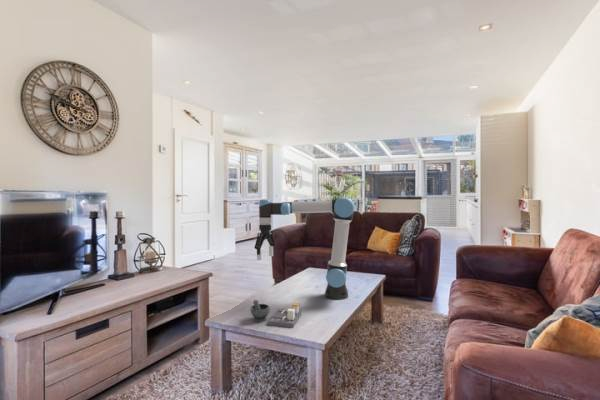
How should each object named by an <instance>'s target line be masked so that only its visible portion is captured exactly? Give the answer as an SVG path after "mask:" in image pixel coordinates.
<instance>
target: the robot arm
mask: <svg viewBox="0 0 600 400" xmlns="http://www.w3.org/2000/svg"><path fill="white" fill-rule="evenodd" d="M354 212H355V203H354V201H353V200H352V199H351V198H350V197H346V196H342V197H338V198H331V200H315V201H284V202H272V199H260V200H259V203H258V216H259V217H258V219H259V220H258V221H259V222H258V223H259V225H258V229H259V231H260V232H257V236H256V239H255V240H256V241H255V243H254V247H253V248H254V249H255V250H256V260H257V261H262V246H263V244H264V241H266V240H267V243H268V245H269V246H268V257H274V247H276V246H275V245H276V241H275V237H274V233H273V230H272V215H275V216H277V215H278V216H286V215H290V214H313V213H314V214H315V213H316V214H317V213H318V214H319V213H323V214H324V213H330V214H332V215H333V218H332V219H333V220H334V221H335V223H334V231H333V240H332V241H333V242H332V248H331V258H330V260H328V261H327V269H326V275H325V279H326V288H325V291H324V297H326V298H327V299H331V300H344V299H347V298H348V297H349V291H348V287H347V283H346V281H347V272H348V271H347V269H348V264H347V262H346V257H347V250H348V249H347V248H348V247H347V246H348V239H349V232H350V223H351V222H352V221H353V219H354V218H353V217H354Z"/></svg>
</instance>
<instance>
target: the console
mask: <svg viewBox="0 0 600 400" xmlns="http://www.w3.org/2000/svg"><path fill="white" fill-rule="evenodd" d="M287 310H288V309H285V308H277V310H276V312H275V313H274V314H273V315H272V316H271V317H270V318H269V320H268V326H275V327H284V328H294V327H295V326H296V325H297V322H298V321H299V320H300V318H301V316H302V310H299V312H298V314H295V318H294V320H288V312H287Z"/></svg>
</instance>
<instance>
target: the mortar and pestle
mask: <svg viewBox="0 0 600 400" xmlns="http://www.w3.org/2000/svg"><path fill="white" fill-rule="evenodd" d="M259 301H260V300H259V299H254V300H253V301H252V303H253V304H252V305H251V306H250V313H251V315H252V316H253V320H254V322H255V323H264V322H265V321H267V319H266V318H267V316H268V315H269V314H270V306H269V304H265V303H259Z"/></svg>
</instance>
